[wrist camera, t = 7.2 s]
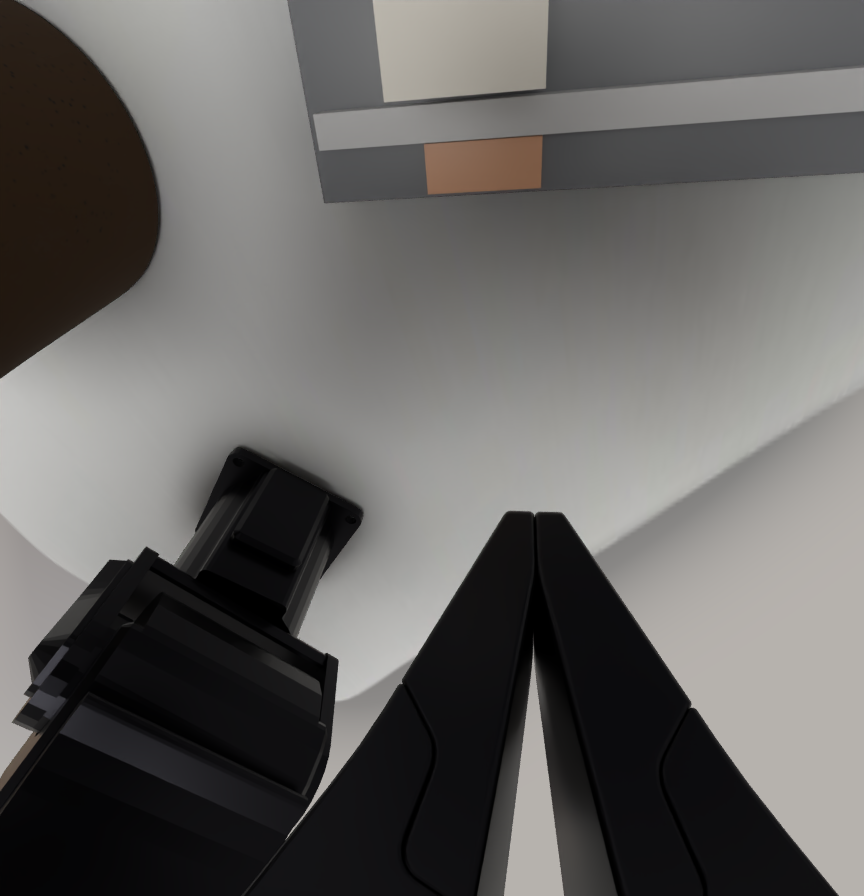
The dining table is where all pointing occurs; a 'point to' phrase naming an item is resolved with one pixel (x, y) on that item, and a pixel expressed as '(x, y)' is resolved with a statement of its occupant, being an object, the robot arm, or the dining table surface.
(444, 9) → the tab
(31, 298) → the olive oil
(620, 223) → the dining table surface
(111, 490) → the dining table surface
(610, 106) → the switch panel
